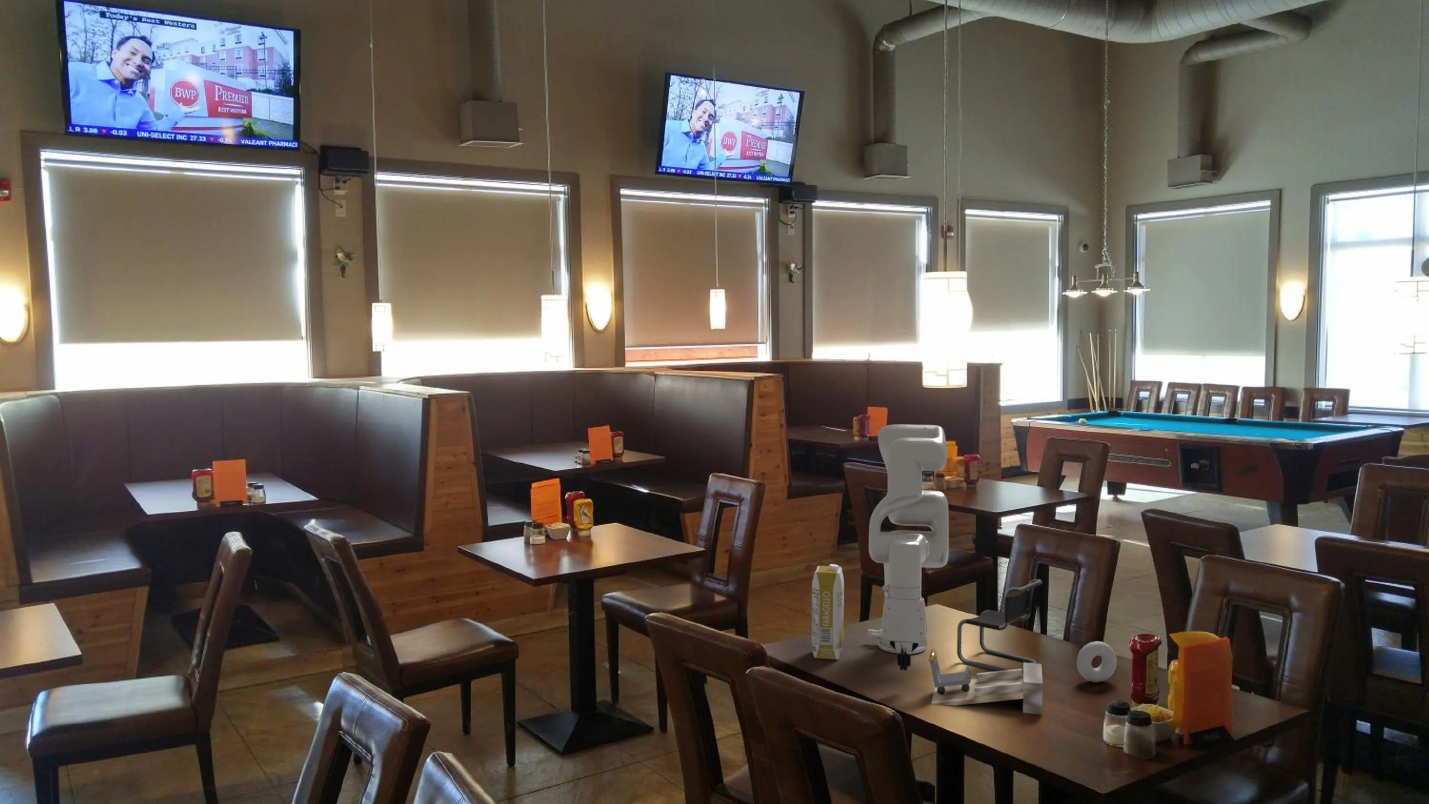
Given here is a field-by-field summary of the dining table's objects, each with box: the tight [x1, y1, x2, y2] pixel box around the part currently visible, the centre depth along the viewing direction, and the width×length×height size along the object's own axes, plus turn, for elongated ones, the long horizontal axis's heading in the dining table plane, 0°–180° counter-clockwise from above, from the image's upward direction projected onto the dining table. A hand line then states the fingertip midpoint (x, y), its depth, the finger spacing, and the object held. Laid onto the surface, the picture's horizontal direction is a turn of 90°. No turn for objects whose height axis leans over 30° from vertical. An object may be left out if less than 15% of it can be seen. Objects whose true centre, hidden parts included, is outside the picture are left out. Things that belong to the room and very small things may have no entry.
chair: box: [956, 578, 1043, 674], centre depth 256 cm, size 13×17×22 cm
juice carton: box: [811, 563, 845, 660], centre depth 263 cm, size 9×8×24 cm
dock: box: [930, 661, 1044, 716], centre depth 232 cm, size 24×14×8 cm, turn 73°
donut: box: [1076, 640, 1118, 683], centre depth 242 cm, size 10×4×10 cm, turn 99°
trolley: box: [928, 648, 972, 695], centre depth 234 cm, size 9×7×9 cm
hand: (903, 668), depth 237 cm, fingers closed
